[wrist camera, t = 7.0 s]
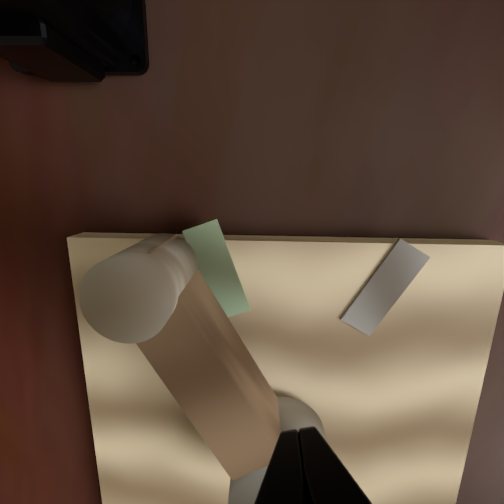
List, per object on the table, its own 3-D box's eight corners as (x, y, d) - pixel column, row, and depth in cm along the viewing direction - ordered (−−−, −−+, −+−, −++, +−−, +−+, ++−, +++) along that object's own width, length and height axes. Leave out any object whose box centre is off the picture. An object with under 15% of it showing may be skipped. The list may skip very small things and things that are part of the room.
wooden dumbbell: (338, 450, 17) (370, 559, 12) (261, 482, 18) (262, 597, 13) (197, 209, 14) (163, 225, 9) (110, 259, 15) (35, 298, 10)
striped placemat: (81, 213, 16) (61, 216, 15) (494, 219, 16) (521, 224, 14) (119, 532, 21) (108, 561, 20) (427, 545, 21) (441, 575, 19)
